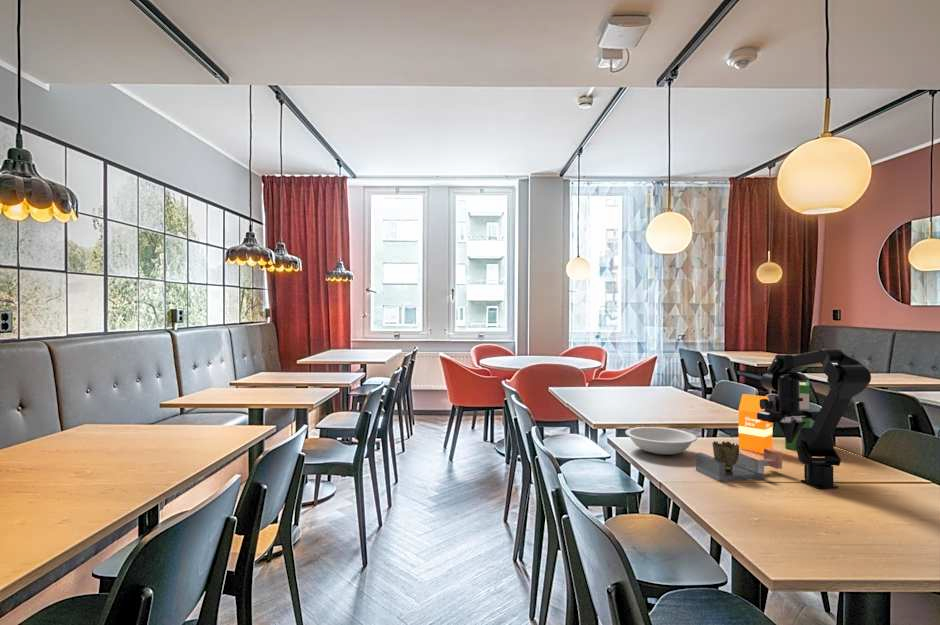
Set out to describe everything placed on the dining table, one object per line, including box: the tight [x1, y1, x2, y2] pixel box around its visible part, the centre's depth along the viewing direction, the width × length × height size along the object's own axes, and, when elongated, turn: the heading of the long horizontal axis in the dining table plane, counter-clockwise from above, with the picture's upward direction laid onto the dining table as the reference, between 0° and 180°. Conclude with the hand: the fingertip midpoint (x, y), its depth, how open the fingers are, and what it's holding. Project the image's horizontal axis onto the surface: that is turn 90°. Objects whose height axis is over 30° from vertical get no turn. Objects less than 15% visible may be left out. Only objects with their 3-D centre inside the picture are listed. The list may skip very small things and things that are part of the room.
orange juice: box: [738, 393, 773, 454], centre depth 177 cm, size 8×9×20 cm
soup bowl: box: [624, 426, 698, 455], centre depth 173 cm, size 24×24×7 cm
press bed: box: [695, 452, 765, 482], centre depth 148 cm, size 11×15×6 cm
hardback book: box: [784, 380, 811, 451], centre depth 183 cm, size 18×7×24 cm, turn 145°
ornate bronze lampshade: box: [711, 440, 740, 471], centre depth 148 cm, size 8×7×8 cm
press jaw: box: [736, 448, 783, 474], centre depth 150 cm, size 11×11×5 cm
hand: (789, 443), depth 152 cm, fingers closed
